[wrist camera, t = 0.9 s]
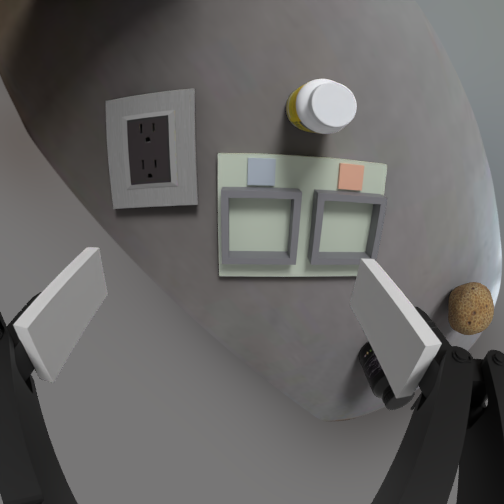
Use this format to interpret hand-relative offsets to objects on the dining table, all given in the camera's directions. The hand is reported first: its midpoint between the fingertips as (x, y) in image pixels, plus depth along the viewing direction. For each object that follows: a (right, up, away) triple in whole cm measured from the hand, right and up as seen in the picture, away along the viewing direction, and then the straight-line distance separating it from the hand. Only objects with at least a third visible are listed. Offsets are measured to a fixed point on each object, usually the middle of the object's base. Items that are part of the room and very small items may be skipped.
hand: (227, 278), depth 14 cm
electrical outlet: (-10, +13, +17) cm, 24 cm away
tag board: (+7, +5, +21) cm, 23 cm away
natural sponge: (+37, -6, +27) cm, 46 cm away
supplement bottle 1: (+8, +17, +16) cm, 25 cm away
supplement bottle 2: (+23, -16, +31) cm, 42 cm away
